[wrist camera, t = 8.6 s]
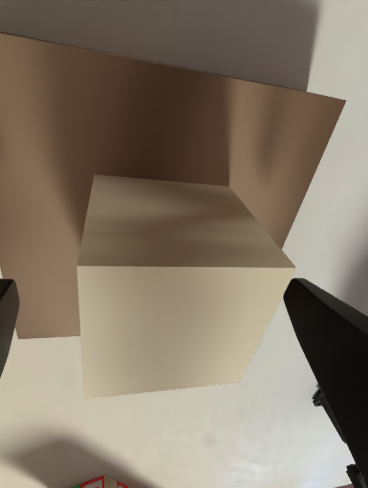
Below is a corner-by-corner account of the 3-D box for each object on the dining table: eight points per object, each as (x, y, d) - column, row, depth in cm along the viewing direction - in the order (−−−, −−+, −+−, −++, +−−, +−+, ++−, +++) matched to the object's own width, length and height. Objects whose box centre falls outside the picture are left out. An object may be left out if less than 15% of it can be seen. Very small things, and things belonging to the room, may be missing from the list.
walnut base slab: (307, 91, 12) (346, 100, 10) (233, 296, 18) (247, 327, 16) (-20, 27, 9) (-61, 21, 7) (31, 300, 15) (18, 339, 13)
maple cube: (229, 186, 11) (295, 267, 7) (203, 282, 13) (239, 382, 9) (94, 174, 9) (76, 265, 5) (95, 283, 12) (84, 398, 8)
